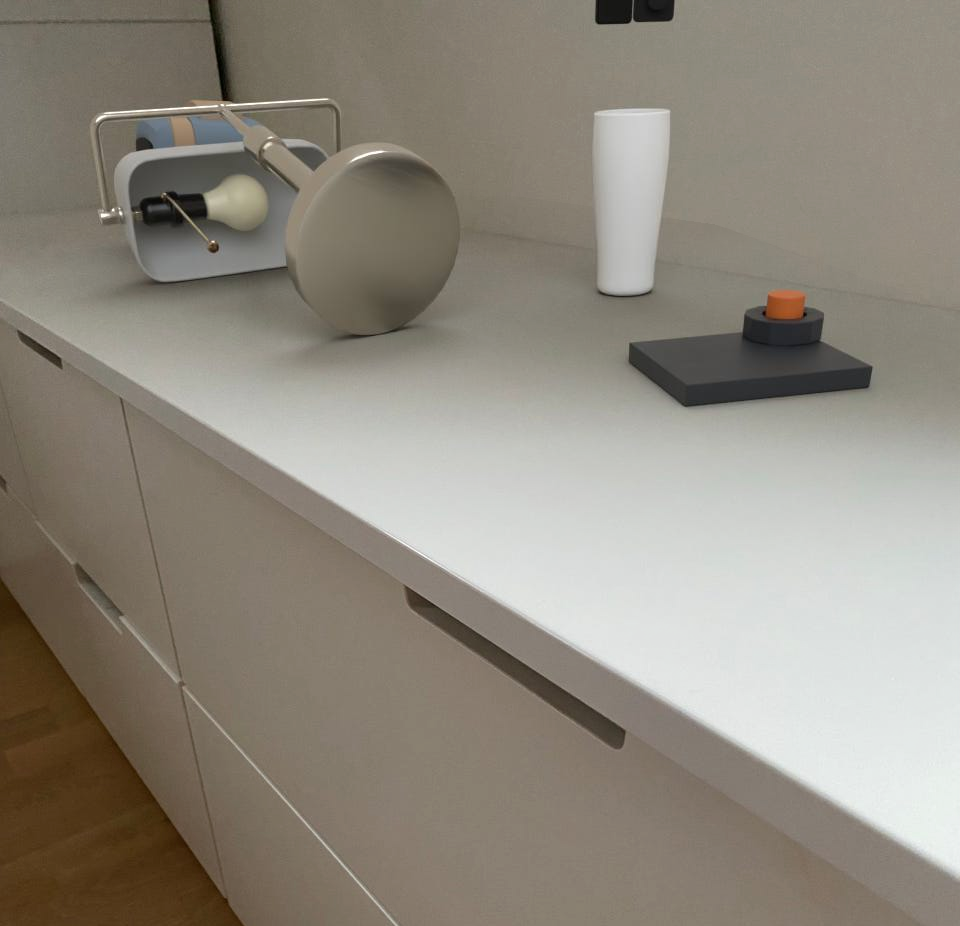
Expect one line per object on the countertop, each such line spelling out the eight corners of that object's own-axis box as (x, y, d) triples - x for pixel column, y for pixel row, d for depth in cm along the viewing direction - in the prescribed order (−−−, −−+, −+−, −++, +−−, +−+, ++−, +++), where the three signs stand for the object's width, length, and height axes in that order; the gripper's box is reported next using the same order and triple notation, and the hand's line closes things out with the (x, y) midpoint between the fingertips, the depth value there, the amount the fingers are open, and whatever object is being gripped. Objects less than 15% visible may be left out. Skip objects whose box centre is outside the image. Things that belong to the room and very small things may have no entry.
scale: (796, 342, 75) (801, 302, 74) (880, 386, 65) (888, 340, 64) (624, 358, 73) (626, 317, 71) (685, 406, 63) (688, 359, 62)
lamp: (504, 393, 93) (326, 231, 117) (535, 137, 78) (323, 11, 101) (232, 453, 82) (96, 260, 106) (205, 167, 66) (53, 17, 90)
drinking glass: (583, 298, 90) (587, 114, 83) (594, 283, 96) (598, 109, 88) (658, 299, 89) (668, 112, 81) (664, 284, 94) (674, 107, 87)
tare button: (791, 313, 72) (794, 288, 71) (809, 321, 70) (812, 295, 69) (759, 316, 72) (761, 291, 71) (775, 324, 70) (778, 298, 69)
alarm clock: (146, 239, 129) (119, 101, 120) (268, 227, 134) (250, 94, 126) (168, 258, 116) (139, 105, 108) (302, 244, 121) (284, 97, 113)
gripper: (564, -225, 79) (560, 26, 88) (636, -285, 65) (623, 22, 74) (652, -223, 80) (639, 24, 89) (743, -282, 66) (716, 19, 75)
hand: (632, 22), depth 81 cm, fingers open, 9 cm apart
